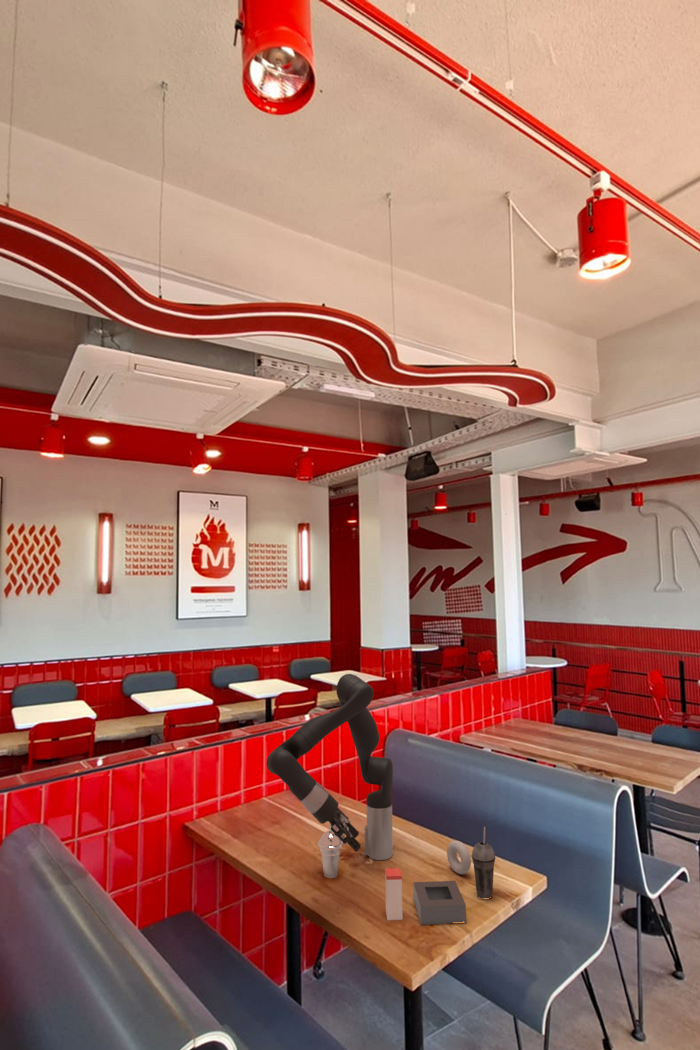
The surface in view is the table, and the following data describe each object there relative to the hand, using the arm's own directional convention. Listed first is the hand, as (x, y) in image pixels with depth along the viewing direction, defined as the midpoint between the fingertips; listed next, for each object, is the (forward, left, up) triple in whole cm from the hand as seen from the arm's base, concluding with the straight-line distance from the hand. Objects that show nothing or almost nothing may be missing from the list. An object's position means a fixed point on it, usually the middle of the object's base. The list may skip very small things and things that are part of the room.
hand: (357, 842), depth 168 cm
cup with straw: (-19, +17, -21) cm, 33 cm away
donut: (+19, +37, -21) cm, 47 cm away
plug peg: (+9, +5, -21) cm, 23 cm away
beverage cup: (+30, +27, -21) cm, 46 cm away
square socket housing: (+20, +13, -21) cm, 32 cm away
